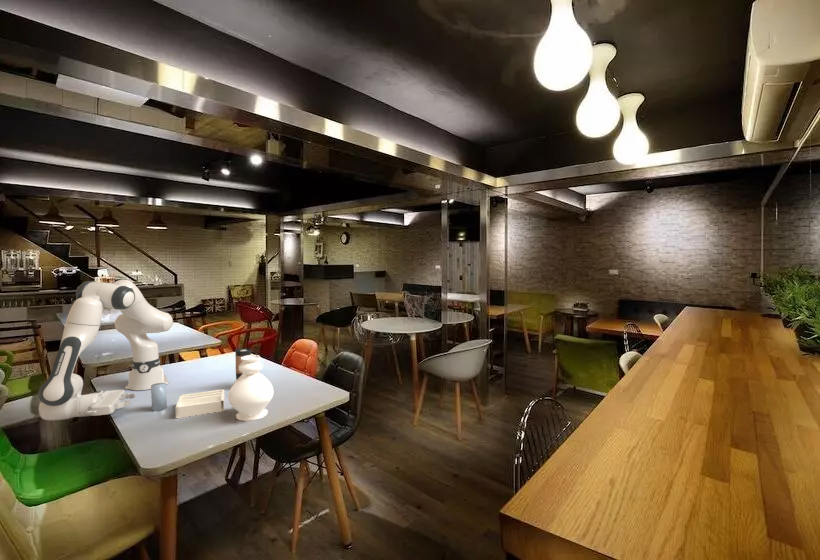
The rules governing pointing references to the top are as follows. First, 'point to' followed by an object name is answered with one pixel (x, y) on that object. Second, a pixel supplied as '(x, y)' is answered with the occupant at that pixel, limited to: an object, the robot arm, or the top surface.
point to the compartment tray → (200, 403)
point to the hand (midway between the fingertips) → (132, 399)
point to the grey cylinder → (158, 396)
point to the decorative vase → (250, 390)
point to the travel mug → (239, 354)
